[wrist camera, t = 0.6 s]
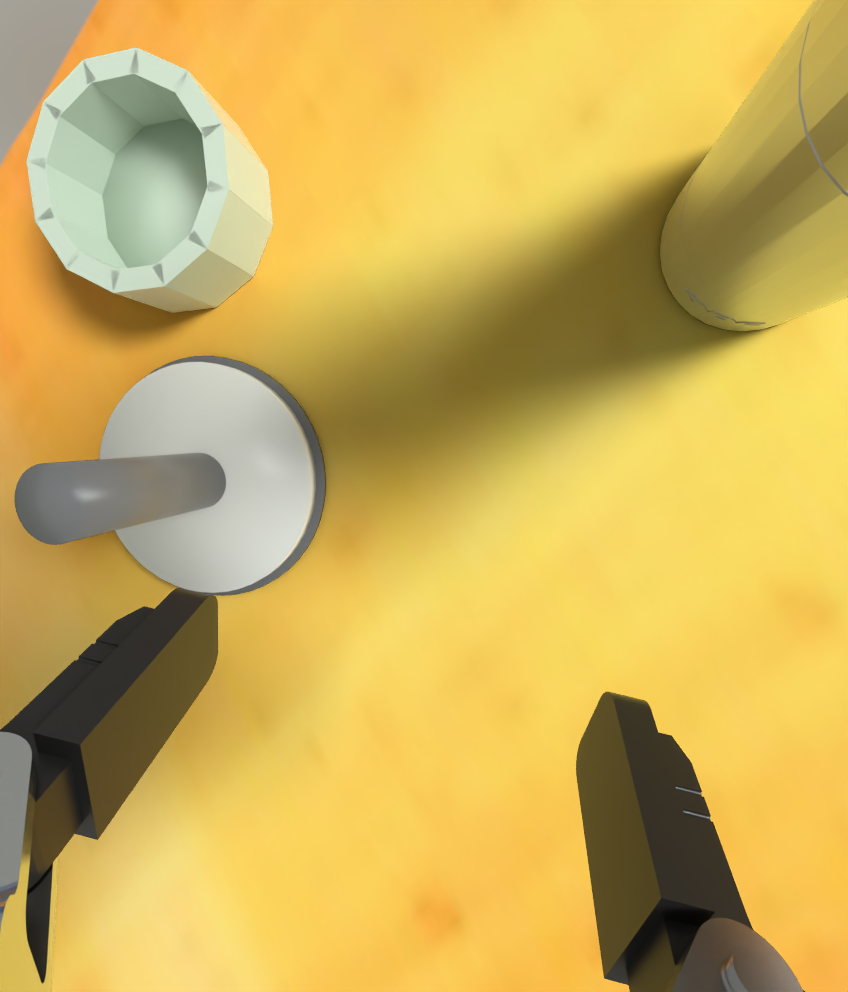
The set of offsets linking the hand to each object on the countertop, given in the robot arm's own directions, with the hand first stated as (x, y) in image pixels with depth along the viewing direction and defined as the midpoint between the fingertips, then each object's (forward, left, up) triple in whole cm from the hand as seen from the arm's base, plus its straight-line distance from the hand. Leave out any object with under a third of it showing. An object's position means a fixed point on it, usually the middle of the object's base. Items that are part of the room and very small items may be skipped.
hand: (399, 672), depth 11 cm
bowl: (-8, -25, -22) cm, 34 cm away
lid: (+6, -17, -21) cm, 28 cm away
